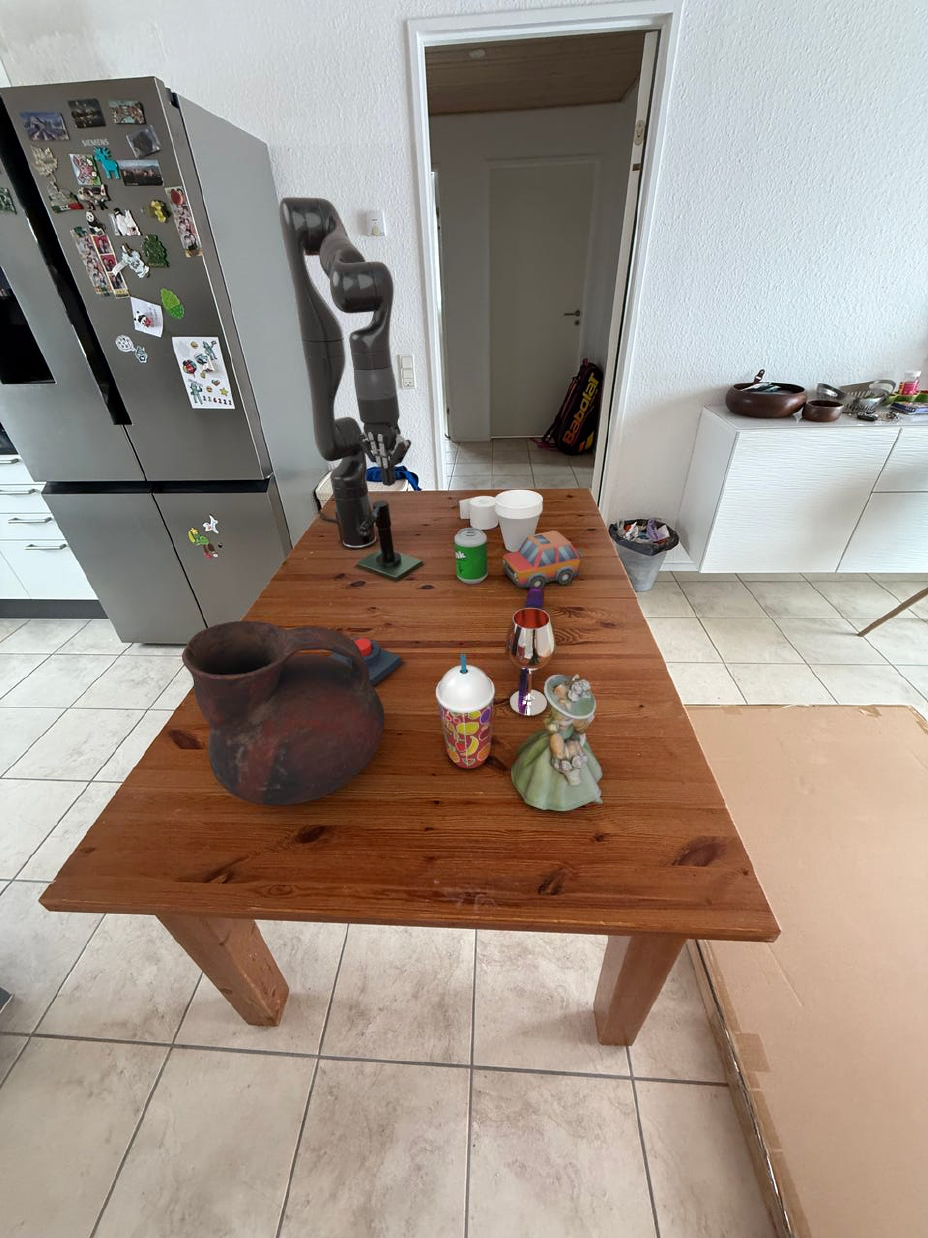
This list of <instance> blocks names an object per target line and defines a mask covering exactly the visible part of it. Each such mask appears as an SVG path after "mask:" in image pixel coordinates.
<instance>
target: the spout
mask: <svg viewBox="0 0 928 1238" xmlns="http://www.w3.org/2000/svg"><path fill="white" fill-rule="evenodd" d="M391 519H392V517H391V512H390V505H389V501H388V500H377V501H374V502H373V503H372V512H371V514H370V515H369V516H368V517H367V519H366V520H365V521H364V522H363V524H362V525H361V526H360V534H361V539H362V542H363V543H364V544H369V543H370V541H371V538H370V533H369V530H370V528H371V527H372V526H373V524H375V527H376V528H377V529H378V528H380V529H384V528H388V527H391V526H392V520H391Z"/></svg>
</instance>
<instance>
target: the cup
mask: <svg viewBox="0 0 928 1238" xmlns="http://www.w3.org/2000/svg"><path fill="white" fill-rule="evenodd" d="M494 498H495V512H496V513H497V516H498V525H499V528H500V530H501V535H502V539H503V543H504V547H505V549H506V550H507V551H508V552H510V553H512V552H517V551H518V550H519V549H520V547H521V546H522V544H523V543H524V541H525V540H526V538H527V537H528V536H530V535H534V534H536V531H537V526H538V523H539V520H540V516H541V514H542V512H543V509H544V507H543V506H544V505H543V501H544V497H543V496H542V495H541V494H540V493H538V492H536V491H533V490H529V489H510V490H505V491H503V492H500V493H498V494H497V495H496V496H495V497H494Z"/></svg>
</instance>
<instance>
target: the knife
mask: <svg viewBox="0 0 928 1238" xmlns="http://www.w3.org/2000/svg"><path fill="white" fill-rule="evenodd" d="M544 599H545V593H544V590H543V588H542V589H541V588H538V587H533V588H531V589H530V588H529V589H528V590H527V594H526V599H525V604H524V609H525V608H536V609H540V610H543V609H544V608H543V607H544ZM519 671H520V672H519V685H518V691H519V698H518V708H519V709H520V708H521V706H522V703H523V697H524V692H525V689H526V687H527V672H526V671H525V670H522V669H520V668H519Z"/></svg>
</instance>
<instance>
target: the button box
mask: <svg viewBox="0 0 928 1238" xmlns="http://www.w3.org/2000/svg"><path fill="white" fill-rule="evenodd" d="M358 639H362V638H361V637H359V636H356V637H354V638H353V639H352V640H353V641H356V640H358ZM368 640H369V641H370V642H371V647H372V652H371V653H370V654H369V655H366V656H363V659H364V660H365V662H366V664H367V666H368V670H369V674H370V677H369V683H370V684H371V685H372V687H373V688H374V686H376V685H377V684H378V683H379V682H381V681H382V680H383V679H384V678H386V677H387V676H388V675H389V674H391V673H392V672H393V671H394V670H395V669H396V668H397V667H399V666H400V665H401V664H402V657H401V656H400V655H398V654H396V653H393V652H391V651H389V650H387V649H384V648H383V647H380V645H379V643H378V642H377V641H375V640H372V639H368ZM328 657H332V658H335V659H337V660H340V661H342V662H344V663H346V664H348V665H350V666H351V667H352V660H351V659H350V658H348V657H345V656H342V655H340V654H337V653H334V652H332V654H330V655H329V656H328Z"/></svg>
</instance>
